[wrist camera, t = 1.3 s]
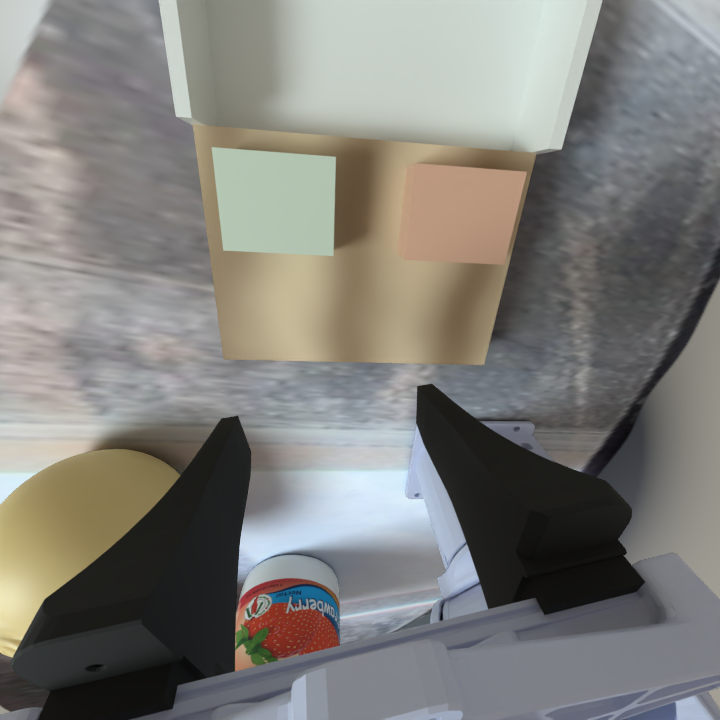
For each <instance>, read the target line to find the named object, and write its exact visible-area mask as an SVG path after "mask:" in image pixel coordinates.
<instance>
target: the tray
mask: <svg viewBox="0 0 720 720" xmlns="http://www.w3.org/2000/svg"><path fill="white" fill-rule="evenodd" d="M602 1H603V0H159V5H160V12H161V18H162V25H163V32H164V39H165V45H166V52H167V59H168V66H169V73H170V79H171V86H172V93H173V100H174V106H175V113H176V117H178V118H180V119H182V120H184V121H186V122H187V123H189V124H191V125H193V124H196V125H207V126H219V127H231V128H243V129H255V130H267V131H279V132H291V133H302V134H314V135H326V136H338V137H350V138H362V139H374V140H386V141H397V142H409V143H421V144H433V145H445V146H457V147H469V148H481V149H493V150H504V151H516V152H528V153H537V154H536V155H539V154H543V153H548V152H553V151H557V150H562V146H563V142H564V139H565V135H566V131H567V128H568V124H569V121H570V117H571V113H572V110H573V106H574V102H575V99H576V95H577V92H578V88H579V84H580V81H581V77H582V73H583V70H584V66H585V63H586V59H587V55H588V52H589V48H590V44H591V41H592V37H593V33H594V30H595V26H596V23H597V19H598V15H599V12H600V8H601V4H602Z"/></svg>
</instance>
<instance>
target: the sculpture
mask: <svg viewBox="0 0 720 720" xmlns="http://www.w3.org/2000/svg"><path fill="white" fill-rule="evenodd" d="M180 476H181V475H180V474H179V473H178V472H177V471H176V470H174V469H173V468H172V467H171V466H169V465H168V464H166V463H165V462H163V461H161V460H160V459H158V458H155V457H153V456H151V455H148V454H145V453H142V452H138V451H133V450H127V449H105V450H97V451H91V452H87V453H83V454H79V455H76V456H73V457H70V458H67V459H64V460H62V461H60V462H57V463H55V464H53V465H51V466H49V467H47V468H45V469H44V470H42V471H40V472H39V473H37V474H35V475H34V476H32V477H31V478H30V479H28V480H27V481H25V482H24V483H23V484H22V485H20V486H19V487H18V488H17V489H16V490H15V491H13V492H12V493H11V494H10V495H9V496H8V497H7V498H6V499H5V500H4V502H3V503H2V504H1V505H0V652H1V653H2V654H4V655H7V656H11V657H12V658H13V655H14V654H15V652H16V650H17V648H18V646H19V644H20V643H21V641H22V639H23V637H24V635H25V633H26V632H27V630H28V628H29V626H30V624H31V622H32V620H33V619H34V617H35V615H36V613H37V611H38V610H39V608H40V606H41V604H42V603H43V601H44V600H45V598H47V597H48V596H49V595H51V594H52V593H54V592H55V591H56V590H57V589H59V588H60V587H61V586H63V585H64V584H65V583H67V582H68V581H69V580H71V579H72V578H73V577H75V576H76V575H77V574H78V573H80V572H81V571H82V570H84V569H85V568H86V567H87V566H89V565H90V564H91V563H92V562H94V561H95V560H96V559H97V558H98V557H100V556H101V555H102V554H103V553H104V552H106V551H107V550H108V549H109V548H110V547H111V546H113V545H114V544H115V543H116V542H117V541H118V540H119V539H121V538H122V537H123V536H124V535H125V534H126V533H127V532H128V531H129V530H130V529H131V528H132V527H133V526H134V525H135V524H136V523H137V522H139V521H140V520H141V519H142V518H143V517H144V516H145V515H146V514H147V513H148V512H149V511H150V510H151V509H152V508H153V507H154V506H155V505H156V503H157V502H158V501H159V500H160V499H161V498H162V497H163V496H164V495H165V494H166V493H167V491H168V490H169V489H170V488H171V487H172V486H173V484H174V483H175V482H176V481H177V479H178V478H179V477H180Z"/></svg>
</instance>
